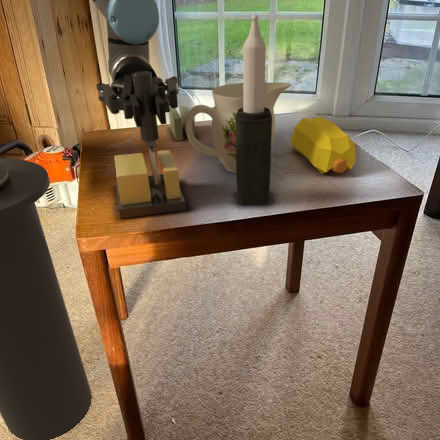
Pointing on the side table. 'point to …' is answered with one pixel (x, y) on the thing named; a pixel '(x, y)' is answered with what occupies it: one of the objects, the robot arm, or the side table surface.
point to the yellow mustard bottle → (324, 145)
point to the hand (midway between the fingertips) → (150, 115)
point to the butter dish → (153, 205)
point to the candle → (253, 126)
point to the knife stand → (179, 122)
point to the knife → (147, 115)
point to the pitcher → (229, 119)
